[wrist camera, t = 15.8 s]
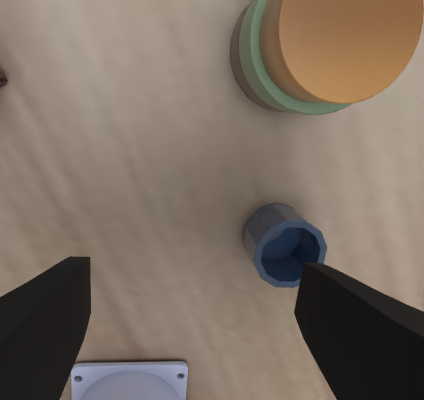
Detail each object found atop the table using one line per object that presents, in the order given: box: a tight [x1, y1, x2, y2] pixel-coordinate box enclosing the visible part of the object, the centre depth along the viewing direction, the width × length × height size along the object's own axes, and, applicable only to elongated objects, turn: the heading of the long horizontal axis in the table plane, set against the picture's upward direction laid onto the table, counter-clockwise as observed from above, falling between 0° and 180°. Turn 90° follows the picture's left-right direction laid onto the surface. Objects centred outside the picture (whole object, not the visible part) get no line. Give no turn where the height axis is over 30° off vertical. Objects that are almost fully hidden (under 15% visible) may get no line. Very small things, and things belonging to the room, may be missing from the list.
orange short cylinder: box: [259, 0, 424, 104], centre depth 13 cm, size 5×5×3 cm
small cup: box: [243, 204, 327, 288], centre depth 20 cm, size 4×4×3 cm
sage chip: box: [239, 0, 352, 115], centre depth 15 cm, size 6×6×2 cm
